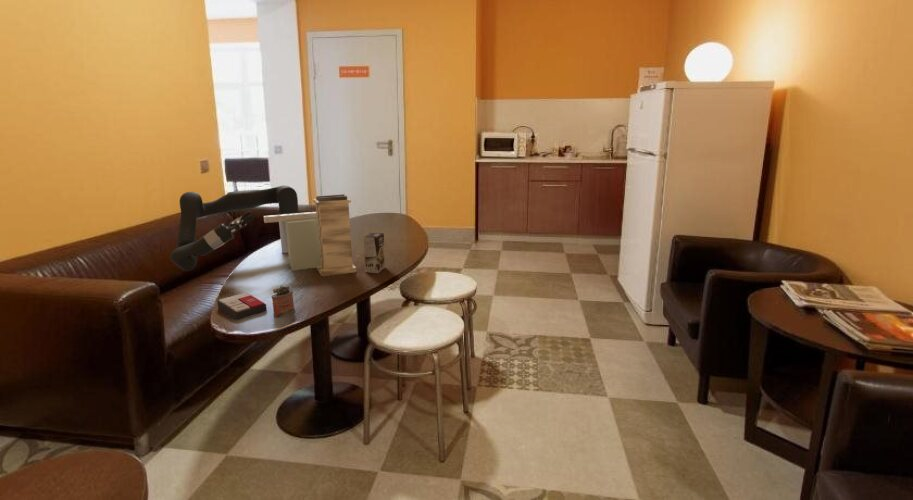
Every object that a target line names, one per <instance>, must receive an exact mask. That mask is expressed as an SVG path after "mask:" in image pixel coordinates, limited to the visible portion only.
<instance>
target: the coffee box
mask: <svg viewBox="0 0 913 500" xmlns="http://www.w3.org/2000/svg"><path fill="white" fill-rule="evenodd" d="M363 248H364V249H363V250H364V267H365V273H368V274H369V273H373V274H379V273H380V272H381V271H383V270H384V269H385V268H386V255H385V254H386V253H385V252H386V251H385V234H384V233H383V232H370V233H369V234H367V235H365V236H363Z"/></svg>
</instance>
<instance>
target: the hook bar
mask: <svg viewBox="0 0 913 500" xmlns="http://www.w3.org/2000/svg"><path fill="white" fill-rule="evenodd" d="M314 204H315V205H316V203H314ZM315 218H317V211H316V210H315V211H311V212H309V211H308V212H298V213H294V214H282V215H278V214H273V215H272V214H271V215H263V222H264V223H265V224H267V223H279V222H281V221H292V220H304V219H315Z"/></svg>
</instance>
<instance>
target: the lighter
mask: <svg viewBox="0 0 913 500" xmlns="http://www.w3.org/2000/svg"><path fill="white" fill-rule="evenodd" d="M272 292H273V294H272V295H271V300H272V308H273V315H272V316H273V318H274V319H275V318H276V319H277V318H278V319H279V318H282V317H285V316H287V315H290V314H292V313H294V312H295V310H296V308H295V304H294V295H293V294H294V291H293V289H290V285H289V284H287V285H285V286H284V285H280V287H277V288H273V290H272Z"/></svg>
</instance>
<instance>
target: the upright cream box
mask: <svg viewBox="0 0 913 500" xmlns="http://www.w3.org/2000/svg"><path fill="white" fill-rule="evenodd" d="M285 225H286V235H287V245H288V253H287V254H288V262H289V263H288V265H289V267H290V269H291V271H292V272H293V271H300V270H301V269H302V270H309V268H310V269H317V265H321V261H320V249H319V236H318V224H317V218H315V219H304V220H292V221H285ZM302 270H301V271H302Z"/></svg>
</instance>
